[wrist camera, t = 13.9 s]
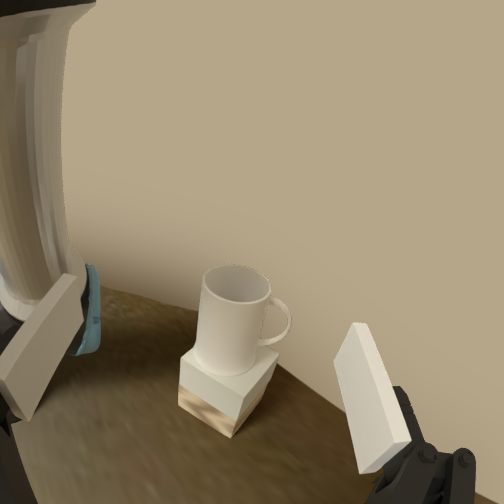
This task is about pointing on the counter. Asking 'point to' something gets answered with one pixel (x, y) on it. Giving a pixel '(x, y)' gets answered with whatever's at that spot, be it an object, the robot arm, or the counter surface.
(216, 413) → the block
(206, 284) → the mug
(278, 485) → the counter surface
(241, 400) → the tower top
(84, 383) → the counter surface
